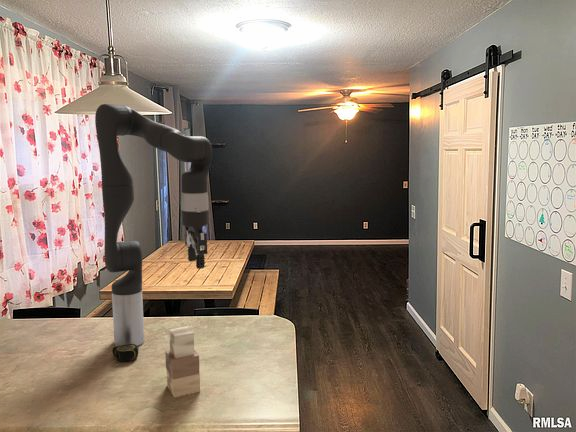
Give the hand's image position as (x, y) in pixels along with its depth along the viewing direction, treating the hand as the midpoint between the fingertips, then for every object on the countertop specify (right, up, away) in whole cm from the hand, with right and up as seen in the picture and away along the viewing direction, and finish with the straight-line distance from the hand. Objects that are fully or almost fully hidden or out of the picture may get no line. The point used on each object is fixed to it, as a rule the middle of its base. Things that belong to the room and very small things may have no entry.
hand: (196, 264), depth 142 cm
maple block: (-2, -22, -12) cm, 25 cm away
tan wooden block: (-1, -32, -10) cm, 34 cm away
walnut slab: (-2, -27, -11) cm, 29 cm away
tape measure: (-23, -29, +8) cm, 38 cm away
